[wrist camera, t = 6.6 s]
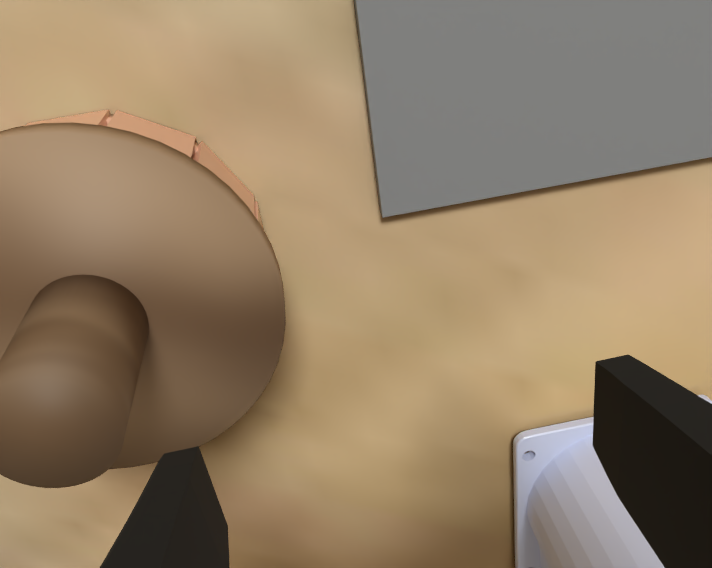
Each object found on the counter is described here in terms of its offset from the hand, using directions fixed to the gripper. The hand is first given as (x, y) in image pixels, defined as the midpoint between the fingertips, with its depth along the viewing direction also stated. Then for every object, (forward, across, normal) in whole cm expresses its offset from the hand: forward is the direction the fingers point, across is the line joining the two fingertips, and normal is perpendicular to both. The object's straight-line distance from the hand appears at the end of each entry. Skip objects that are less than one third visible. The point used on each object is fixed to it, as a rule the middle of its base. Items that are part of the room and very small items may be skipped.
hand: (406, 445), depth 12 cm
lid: (+7, +7, -1) cm, 9 cm away
